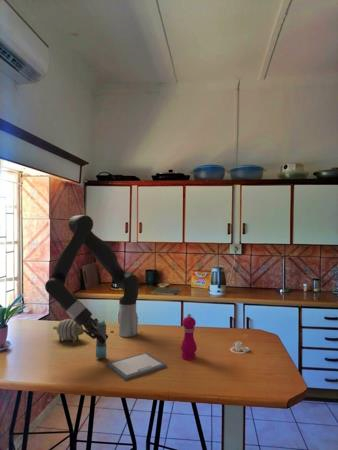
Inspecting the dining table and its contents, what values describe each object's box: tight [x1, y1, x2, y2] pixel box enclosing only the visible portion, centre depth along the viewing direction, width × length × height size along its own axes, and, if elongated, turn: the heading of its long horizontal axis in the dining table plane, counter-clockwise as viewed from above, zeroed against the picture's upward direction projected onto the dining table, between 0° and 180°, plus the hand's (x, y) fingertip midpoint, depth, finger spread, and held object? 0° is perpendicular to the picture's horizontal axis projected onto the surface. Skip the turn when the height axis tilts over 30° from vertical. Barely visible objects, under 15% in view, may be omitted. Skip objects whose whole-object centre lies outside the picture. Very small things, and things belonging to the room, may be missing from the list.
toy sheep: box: [52, 318, 85, 344], centre depth 165 cm, size 11×17×11 cm, turn 84°
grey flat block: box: [106, 351, 168, 382], centre depth 136 cm, size 20×16×2 cm
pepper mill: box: [180, 313, 198, 361], centre depth 146 cm, size 7×7×20 cm
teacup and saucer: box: [229, 341, 250, 354], centre depth 155 cm, size 9×8×4 cm
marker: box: [95, 320, 107, 359], centre depth 144 cm, size 5×5×16 cm
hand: (105, 340), depth 143 cm, fingers closed on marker, 4 cm apart
